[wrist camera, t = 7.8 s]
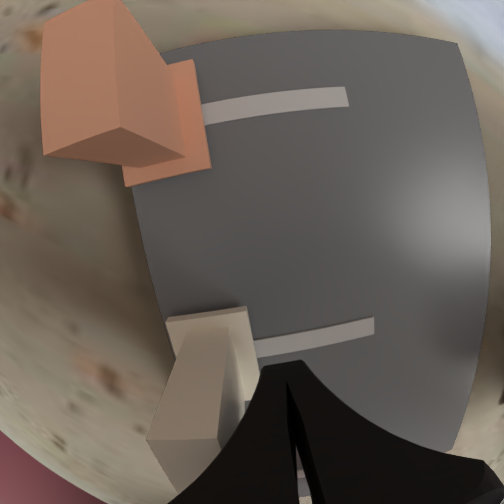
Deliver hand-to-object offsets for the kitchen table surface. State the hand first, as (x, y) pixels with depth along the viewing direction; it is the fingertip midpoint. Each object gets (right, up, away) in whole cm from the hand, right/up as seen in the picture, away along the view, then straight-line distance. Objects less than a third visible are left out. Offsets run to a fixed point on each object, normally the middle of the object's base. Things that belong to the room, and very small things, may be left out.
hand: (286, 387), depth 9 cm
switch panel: (+3, +1, +4) cm, 5 cm away
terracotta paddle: (-4, +9, +1) cm, 10 cm away
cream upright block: (-2, 0, +3) cm, 4 cm away
